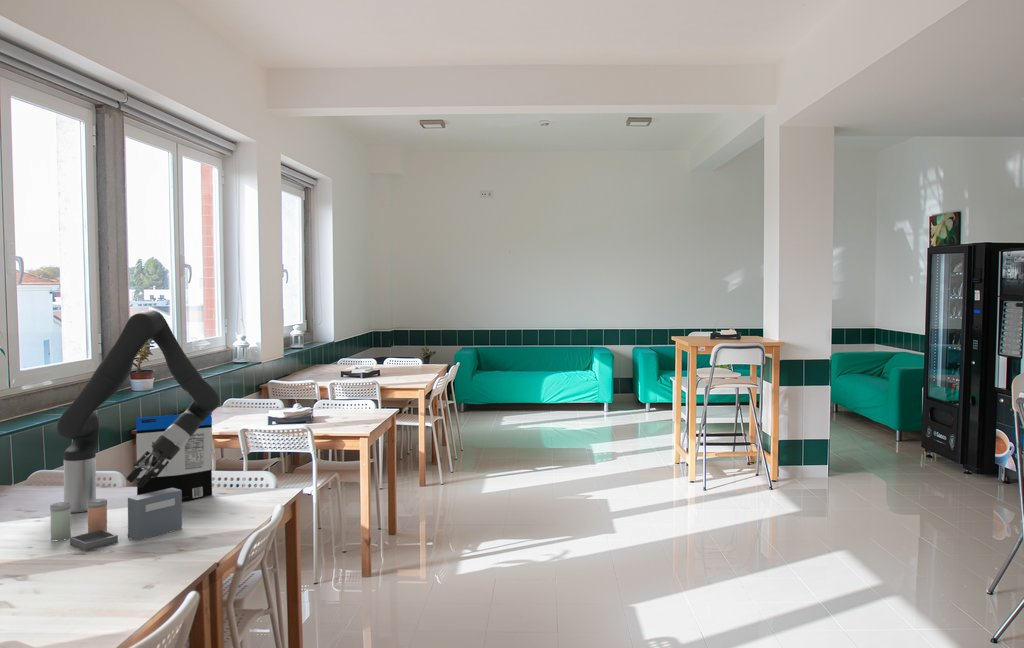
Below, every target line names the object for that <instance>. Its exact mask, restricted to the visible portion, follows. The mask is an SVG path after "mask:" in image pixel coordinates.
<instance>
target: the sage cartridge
mask: <svg viewBox="0 0 1024 648" xmlns="http://www.w3.org/2000/svg"><path fill="white" fill-rule="evenodd" d="M49 510H50V541H52V540H62V541H65V540H64V539H66V540H69V539H70V537H72V535H71V534H72V531H71V530H72V529H71V528H72V525H71V520H72V519H71V515H72V514H71V503H70V502H64V501H61V502H55V503H52V504H50V505H49ZM68 538H69V539H68Z"/></svg>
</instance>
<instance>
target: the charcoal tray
mask: <svg viewBox="0 0 1024 648" xmlns="http://www.w3.org/2000/svg"><path fill="white" fill-rule="evenodd" d="M118 543H119V535H118V534H117V533H113V532H110V531H108V530H107V531H105V530H98V531H94V532H90V533H88V532H87V533H83V534H79V535H75V536H71V537H70V538H69V545H70V546H71V547H73V546H74V547H73V548H76V549H78V548H79V550H81V551H84V552H89V551H93V550H96V549H100V548H103V547H107V546H111V545H115V544H118Z"/></svg>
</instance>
